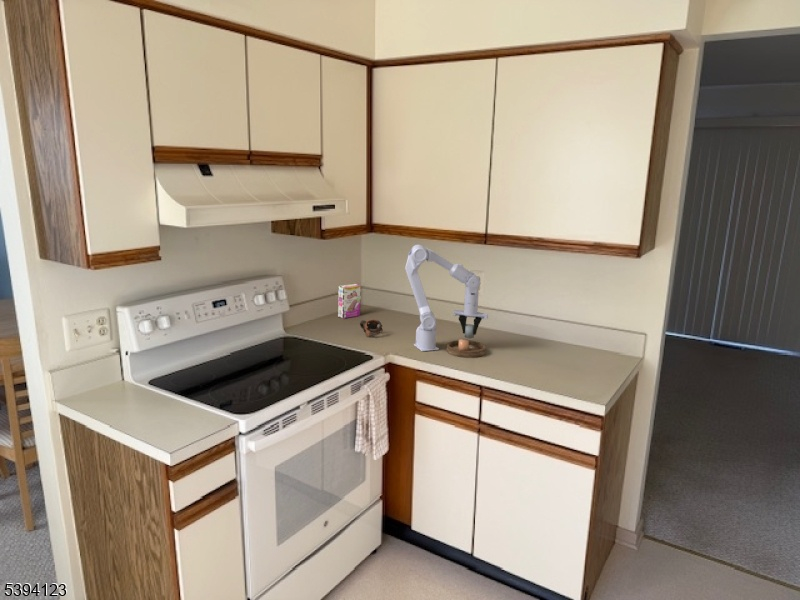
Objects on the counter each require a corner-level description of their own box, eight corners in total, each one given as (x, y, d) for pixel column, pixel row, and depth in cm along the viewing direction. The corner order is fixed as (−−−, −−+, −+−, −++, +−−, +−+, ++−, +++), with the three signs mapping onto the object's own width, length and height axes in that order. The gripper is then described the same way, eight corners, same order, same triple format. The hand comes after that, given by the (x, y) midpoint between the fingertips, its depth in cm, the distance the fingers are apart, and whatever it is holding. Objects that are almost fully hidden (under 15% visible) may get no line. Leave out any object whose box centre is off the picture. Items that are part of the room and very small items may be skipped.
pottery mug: (386, 333, 254) (386, 321, 248) (376, 347, 248) (376, 334, 242) (364, 324, 258) (364, 312, 252) (353, 337, 252) (353, 324, 246)
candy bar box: (343, 319, 276) (343, 287, 272) (337, 317, 279) (337, 285, 276) (361, 316, 283) (361, 285, 279) (355, 314, 286) (355, 283, 283)
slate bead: (467, 334, 235) (467, 323, 234) (475, 336, 233) (476, 325, 232) (463, 337, 232) (463, 325, 231) (471, 338, 230) (472, 327, 229)
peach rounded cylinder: (457, 352, 224) (457, 341, 223) (459, 350, 228) (460, 338, 227) (466, 354, 223) (467, 342, 222) (469, 351, 226) (469, 339, 225)
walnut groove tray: (440, 347, 234) (440, 341, 233) (473, 344, 240) (473, 338, 239) (457, 359, 219) (457, 353, 219) (492, 355, 225) (492, 349, 224)
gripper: (490, 302, 230) (488, 333, 233) (457, 298, 235) (455, 329, 238) (486, 305, 224) (484, 337, 227) (452, 302, 229) (451, 333, 232)
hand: (469, 333), depth 232 cm, fingers closed on slate bead, 4 cm apart
